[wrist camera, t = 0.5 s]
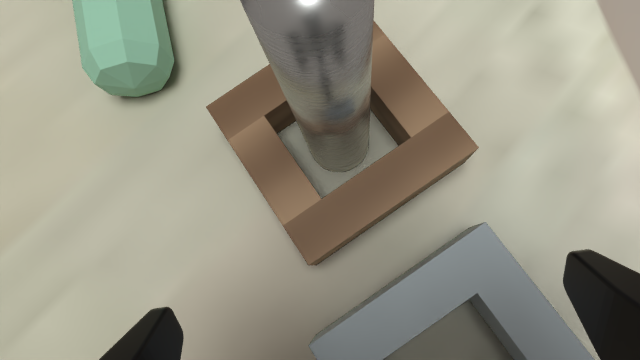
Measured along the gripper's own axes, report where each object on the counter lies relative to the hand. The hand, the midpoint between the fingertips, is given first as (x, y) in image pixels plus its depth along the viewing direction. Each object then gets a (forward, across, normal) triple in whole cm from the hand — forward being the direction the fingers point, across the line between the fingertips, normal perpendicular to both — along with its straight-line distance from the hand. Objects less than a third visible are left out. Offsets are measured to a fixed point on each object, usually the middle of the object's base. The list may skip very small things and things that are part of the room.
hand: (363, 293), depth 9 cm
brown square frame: (+15, 0, +3) cm, 15 cm away
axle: (+15, 0, +3) cm, 15 cm away
